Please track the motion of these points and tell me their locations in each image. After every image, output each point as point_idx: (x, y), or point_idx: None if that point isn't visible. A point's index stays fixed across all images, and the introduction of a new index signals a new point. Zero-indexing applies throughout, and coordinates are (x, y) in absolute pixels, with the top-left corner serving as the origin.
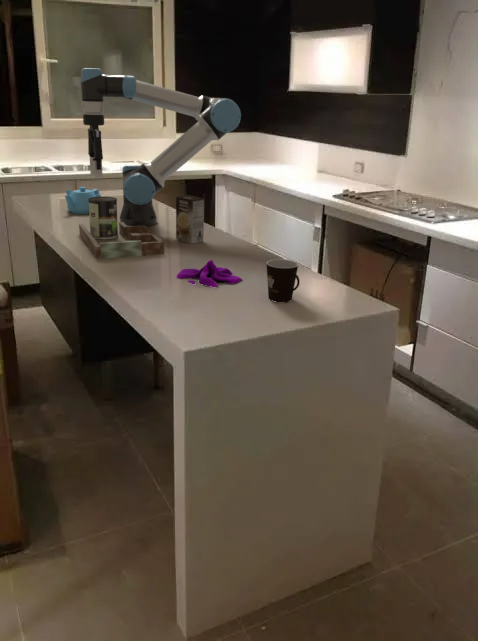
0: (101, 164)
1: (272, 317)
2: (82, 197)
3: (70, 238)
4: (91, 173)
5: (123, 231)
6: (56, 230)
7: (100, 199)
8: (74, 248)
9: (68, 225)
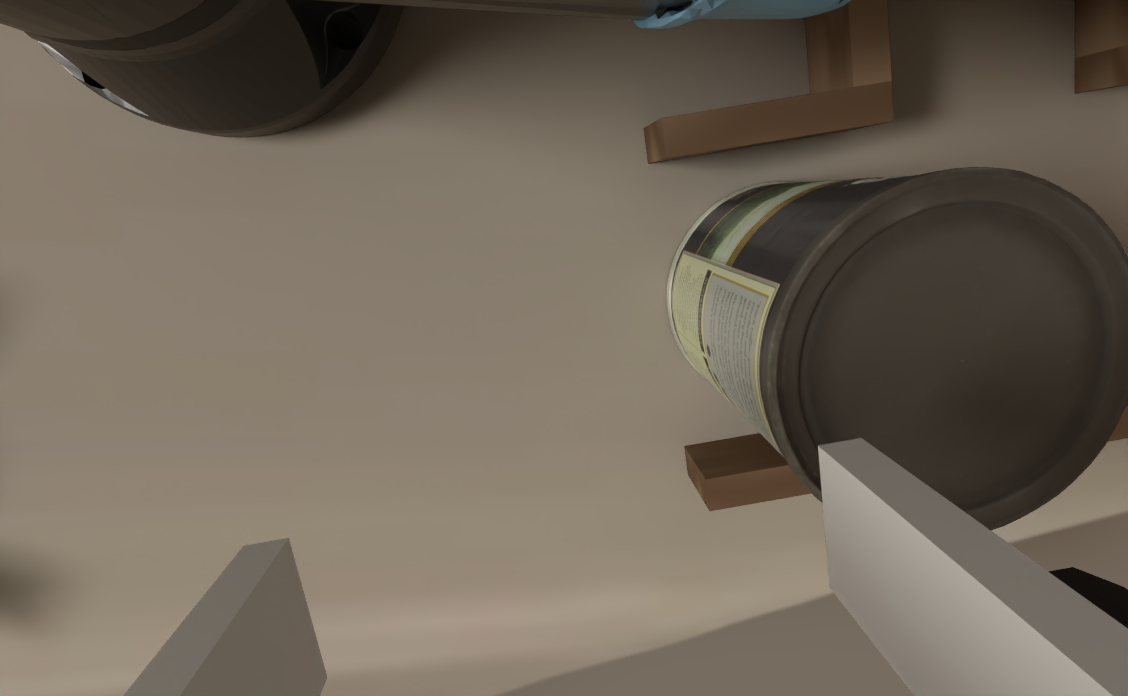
0: (1112, 636)
1: None
2: None
3: (799, 531)
4: (316, 686)
5: (837, 131)
6: (531, 636)
7: (978, 391)
8: (1086, 492)
9: (354, 567)
